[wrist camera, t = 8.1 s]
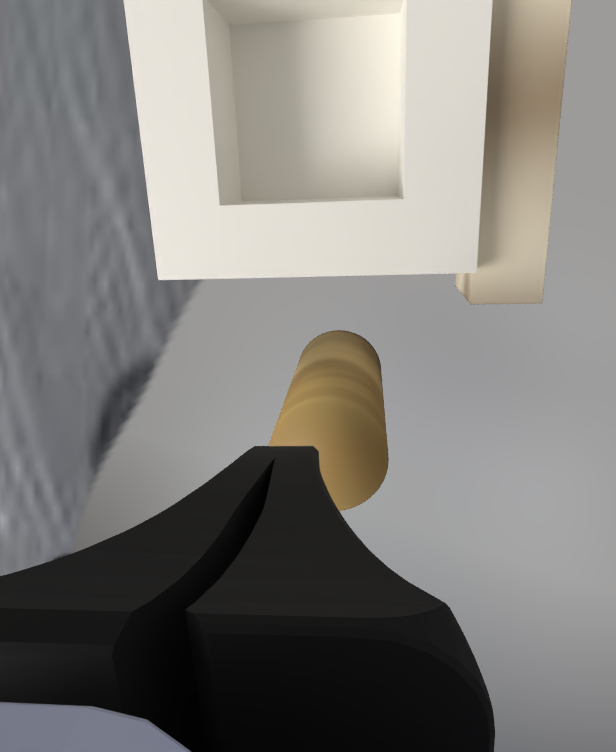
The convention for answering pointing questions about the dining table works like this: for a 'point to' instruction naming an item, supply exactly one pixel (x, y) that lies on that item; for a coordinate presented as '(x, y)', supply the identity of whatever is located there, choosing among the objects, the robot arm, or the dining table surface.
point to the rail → (519, 150)
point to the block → (311, 134)
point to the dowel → (339, 415)
